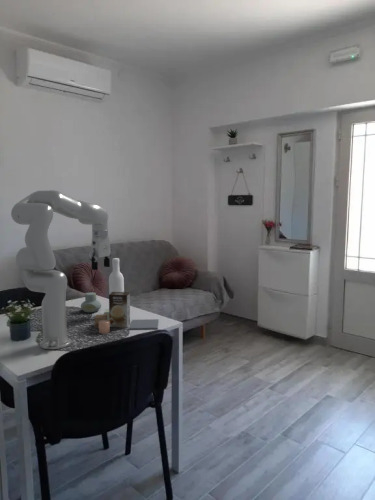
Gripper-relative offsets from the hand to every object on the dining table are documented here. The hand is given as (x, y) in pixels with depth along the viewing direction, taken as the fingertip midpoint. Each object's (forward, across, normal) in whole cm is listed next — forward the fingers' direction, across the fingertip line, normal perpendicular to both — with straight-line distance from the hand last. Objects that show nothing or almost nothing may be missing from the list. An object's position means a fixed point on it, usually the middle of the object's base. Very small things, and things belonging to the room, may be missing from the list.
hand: (101, 268), depth 194 cm
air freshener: (+27, +11, +16) cm, 33 cm away
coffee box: (+27, -3, -13) cm, 30 cm away
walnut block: (+27, -7, -5) cm, 28 cm away
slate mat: (+27, +2, -23) cm, 36 cm away
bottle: (+27, +13, 0) cm, 30 cm away
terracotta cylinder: (+27, -14, -12) cm, 32 cm away
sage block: (+27, +2, -3) cm, 27 cm away
